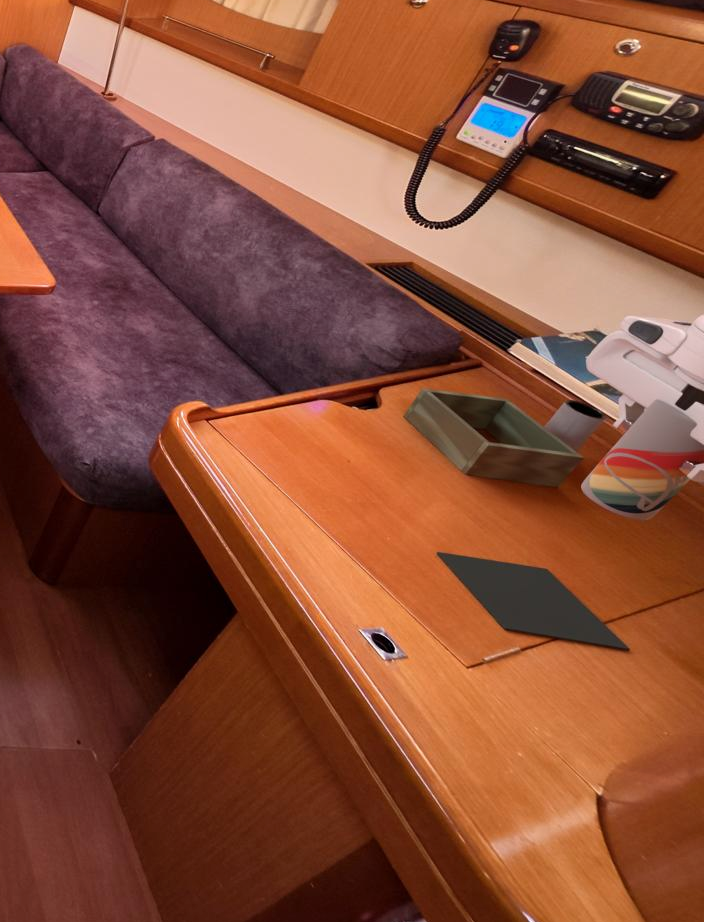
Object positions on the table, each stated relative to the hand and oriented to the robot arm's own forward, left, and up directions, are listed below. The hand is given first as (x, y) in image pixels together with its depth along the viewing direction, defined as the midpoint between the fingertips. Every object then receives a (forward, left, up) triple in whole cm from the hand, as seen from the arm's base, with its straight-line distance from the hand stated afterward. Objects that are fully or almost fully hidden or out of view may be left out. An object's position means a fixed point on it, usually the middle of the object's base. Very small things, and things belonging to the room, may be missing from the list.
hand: (656, 453), depth 75 cm
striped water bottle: (0, 0, -9) cm, 9 cm away
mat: (+1, +1, -27) cm, 27 cm away
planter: (-29, -31, -28) cm, 51 cm away
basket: (-16, -29, -27) cm, 43 cm away
